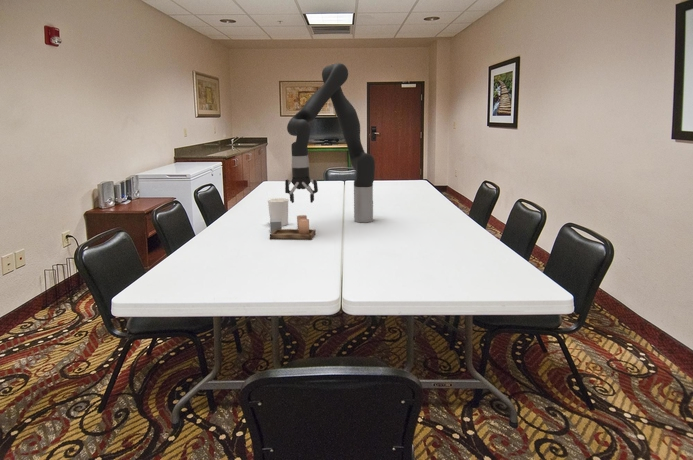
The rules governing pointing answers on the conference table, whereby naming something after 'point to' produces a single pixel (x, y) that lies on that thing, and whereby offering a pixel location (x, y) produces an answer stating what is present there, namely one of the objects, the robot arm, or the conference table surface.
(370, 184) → the robot arm
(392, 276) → the conference table surface
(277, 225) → the grey block
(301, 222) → the clay cylinder
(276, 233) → the tray
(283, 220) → the candle holder
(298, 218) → the clay cylinder
